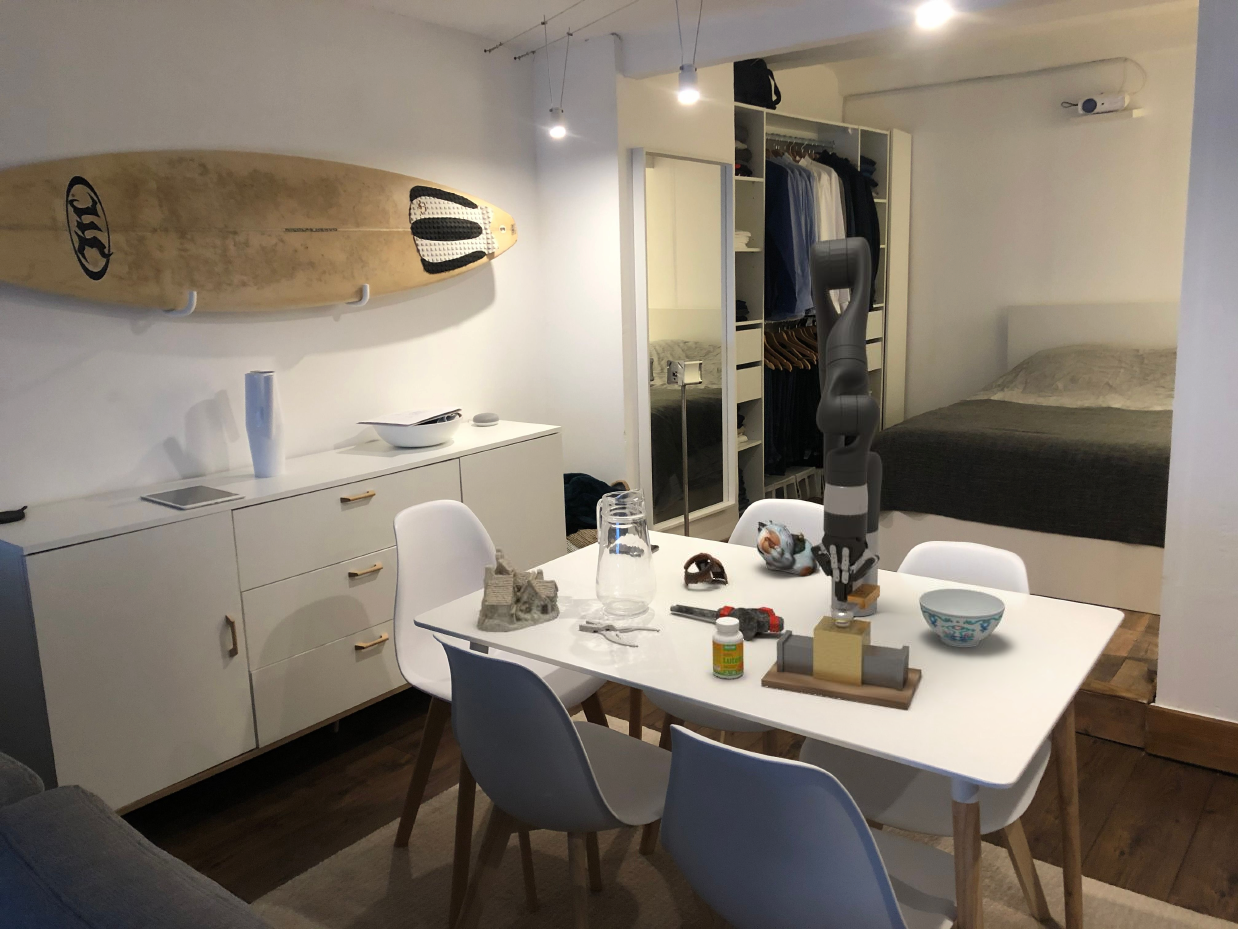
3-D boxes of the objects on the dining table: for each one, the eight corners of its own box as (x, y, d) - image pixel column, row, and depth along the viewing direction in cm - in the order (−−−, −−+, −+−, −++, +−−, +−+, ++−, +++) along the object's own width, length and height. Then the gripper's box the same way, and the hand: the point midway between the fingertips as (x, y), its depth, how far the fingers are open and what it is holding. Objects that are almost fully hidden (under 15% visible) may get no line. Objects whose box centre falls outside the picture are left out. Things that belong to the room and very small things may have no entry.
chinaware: (941, 620, 187) (942, 583, 185) (1017, 639, 176) (1018, 599, 175) (903, 642, 177) (904, 603, 175) (981, 663, 166) (982, 621, 165)
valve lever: (849, 626, 156) (849, 614, 156) (828, 622, 158) (828, 611, 158) (881, 596, 170) (881, 585, 170) (861, 593, 172) (861, 583, 172)
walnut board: (785, 656, 172) (785, 649, 172) (921, 676, 162) (921, 669, 161) (761, 686, 160) (761, 679, 160) (907, 709, 149) (907, 702, 149)
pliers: (636, 642, 178) (569, 630, 186) (636, 649, 179) (569, 637, 186) (660, 624, 187) (595, 614, 194) (660, 632, 187) (595, 621, 195)
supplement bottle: (722, 682, 162) (721, 628, 160) (707, 670, 167) (706, 618, 165) (749, 675, 164) (749, 622, 162) (733, 665, 169) (733, 613, 167)
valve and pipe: (787, 660, 168) (787, 606, 166) (908, 678, 159) (910, 621, 157) (776, 675, 162) (775, 619, 160) (901, 695, 153) (902, 636, 151)
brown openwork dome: (735, 590, 211) (721, 563, 207) (698, 609, 212) (683, 583, 208) (722, 562, 222) (708, 536, 218) (686, 581, 223) (671, 555, 219)
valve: (807, 634, 188) (769, 647, 177) (699, 615, 205) (658, 626, 193) (808, 602, 188) (770, 613, 176) (700, 586, 204) (658, 595, 193)
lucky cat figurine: (824, 577, 216) (801, 530, 211) (775, 595, 219) (752, 550, 213) (813, 541, 230) (792, 497, 224) (767, 560, 232) (745, 516, 227)
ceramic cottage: (467, 629, 191) (467, 558, 189) (499, 606, 207) (500, 539, 204) (539, 640, 187) (540, 566, 184) (566, 614, 202) (568, 547, 200)
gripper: (890, 508, 165) (887, 602, 168) (823, 498, 173) (821, 587, 177) (870, 518, 159) (867, 615, 163) (801, 506, 168) (800, 598, 171)
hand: (843, 600), depth 170 cm, fingers closed
